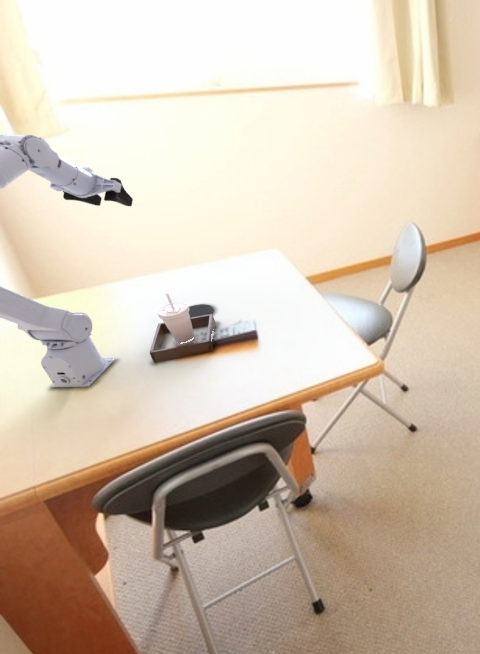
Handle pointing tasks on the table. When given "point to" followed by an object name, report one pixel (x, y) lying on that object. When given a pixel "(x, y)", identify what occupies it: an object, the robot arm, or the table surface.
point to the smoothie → (177, 321)
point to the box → (183, 350)
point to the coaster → (200, 310)
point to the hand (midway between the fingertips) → (115, 202)
